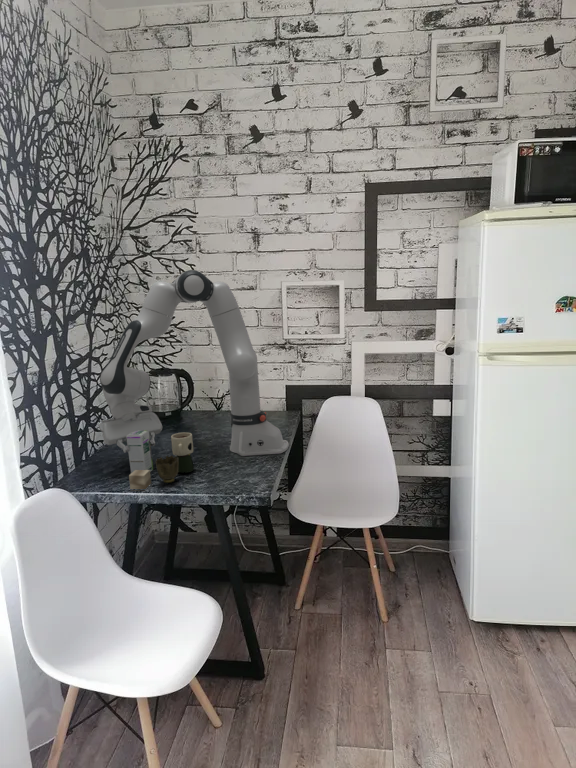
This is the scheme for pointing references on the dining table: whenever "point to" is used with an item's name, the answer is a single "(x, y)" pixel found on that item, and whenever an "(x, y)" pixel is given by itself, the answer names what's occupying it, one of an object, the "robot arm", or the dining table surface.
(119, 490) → the dining table surface
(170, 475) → the cup
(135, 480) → the birch block
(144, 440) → the syrup box
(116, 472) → the dining table surface
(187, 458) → the character mug
